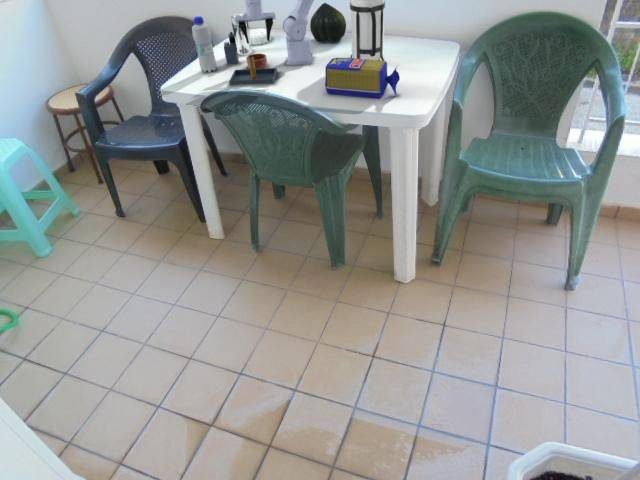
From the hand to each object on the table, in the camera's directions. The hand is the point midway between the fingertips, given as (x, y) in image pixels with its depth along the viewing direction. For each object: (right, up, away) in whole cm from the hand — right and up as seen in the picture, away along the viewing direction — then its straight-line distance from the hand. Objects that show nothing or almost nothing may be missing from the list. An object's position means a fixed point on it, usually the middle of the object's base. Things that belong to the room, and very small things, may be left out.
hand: (258, 41), depth 180 cm
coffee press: (+42, -6, +5) cm, 43 cm away
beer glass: (-8, +4, +22) cm, 23 cm away
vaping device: (-12, -1, +11) cm, 16 cm away
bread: (+37, -24, -15) cm, 47 cm away
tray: (-1, -14, -1) cm, 15 cm away
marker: (-1, -14, -1) cm, 14 cm away
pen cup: (-1, -7, +8) cm, 11 cm away
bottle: (-20, -8, +9) cm, 23 cm away
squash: (+27, +11, +27) cm, 39 cm away
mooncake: (-4, +14, +33) cm, 36 cm away
